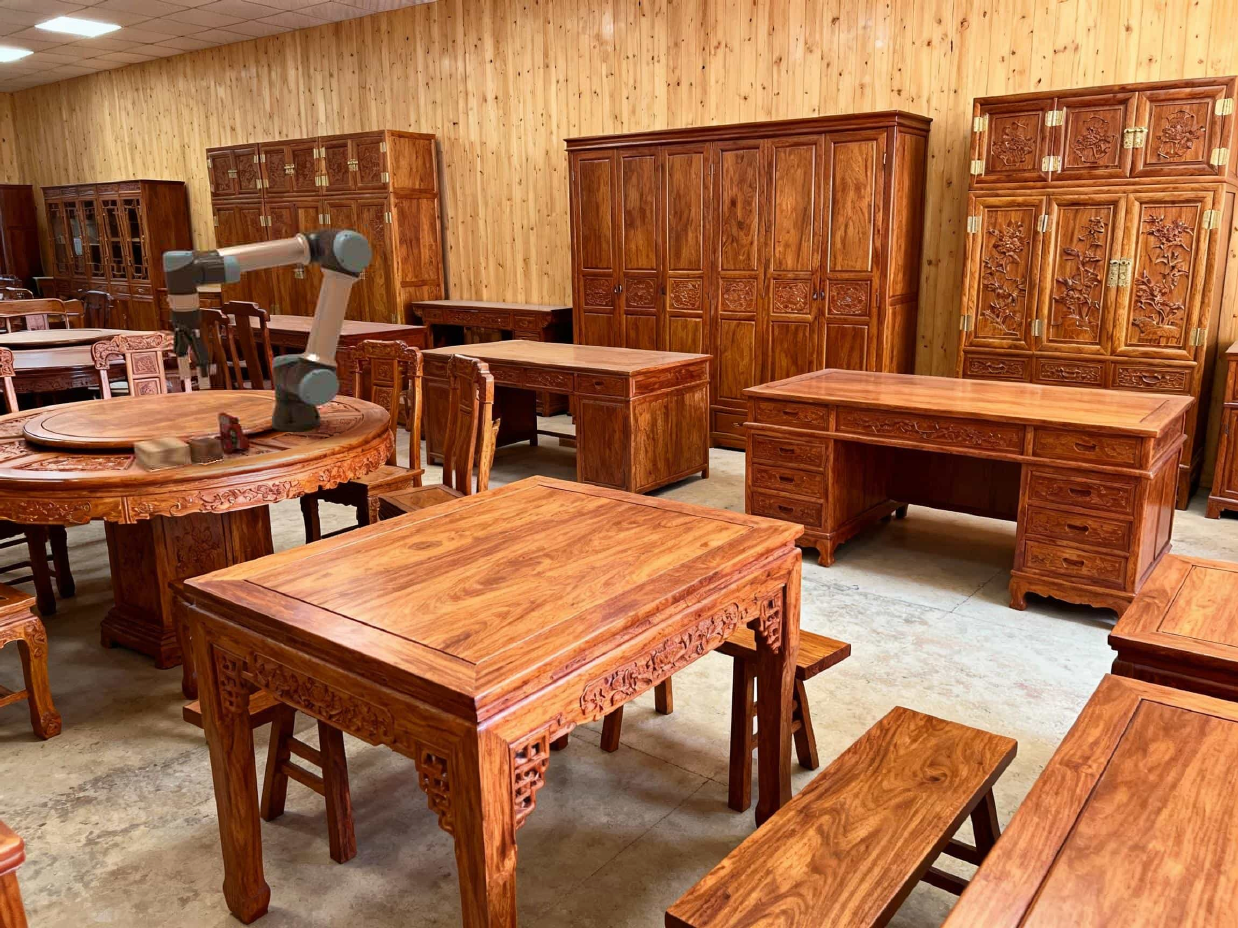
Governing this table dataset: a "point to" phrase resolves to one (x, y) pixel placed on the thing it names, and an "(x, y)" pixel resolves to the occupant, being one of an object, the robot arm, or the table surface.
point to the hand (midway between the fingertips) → (195, 383)
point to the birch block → (162, 453)
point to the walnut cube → (205, 450)
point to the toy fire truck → (231, 434)
